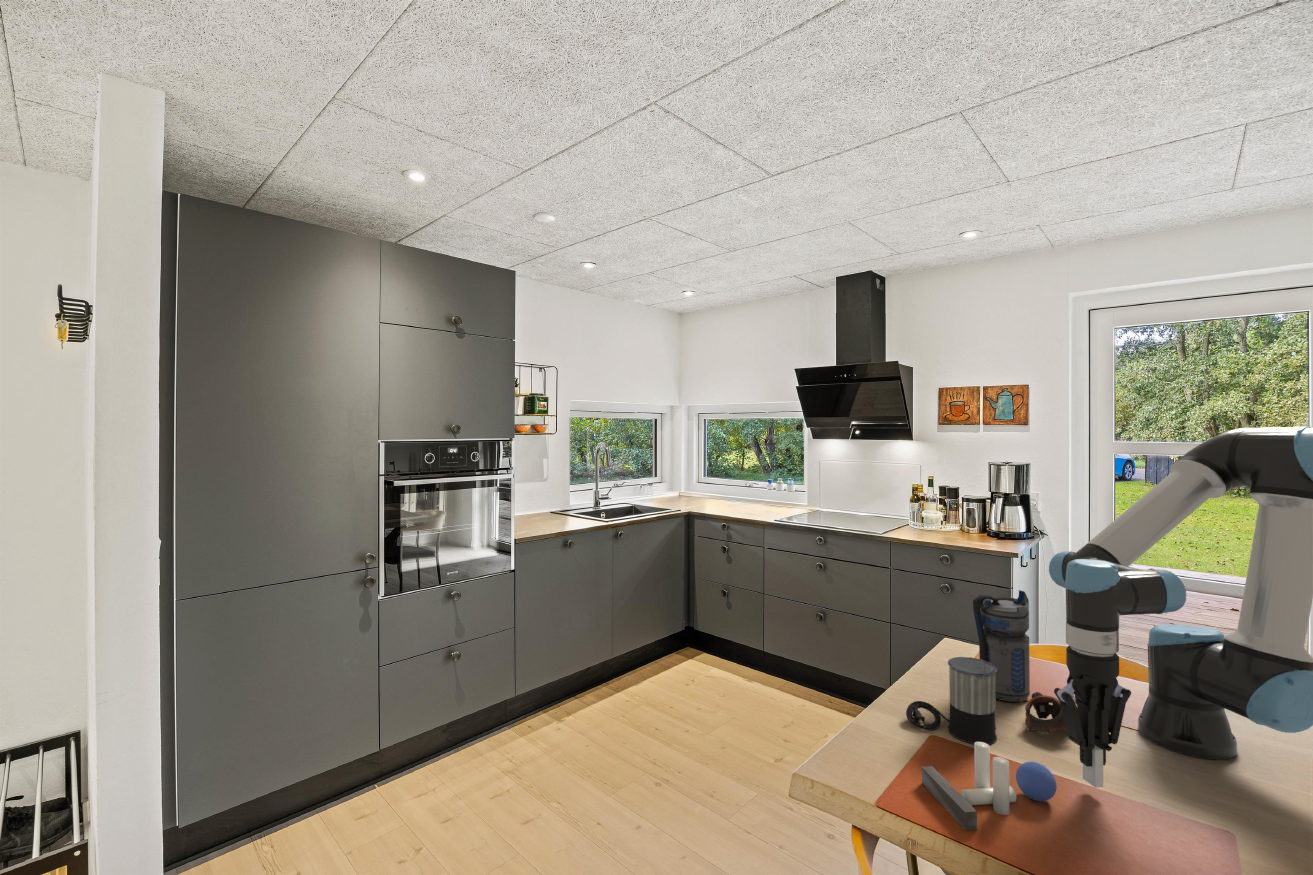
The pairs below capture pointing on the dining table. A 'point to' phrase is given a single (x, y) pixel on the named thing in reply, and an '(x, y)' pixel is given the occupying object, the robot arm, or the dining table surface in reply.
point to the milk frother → (965, 702)
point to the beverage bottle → (1005, 642)
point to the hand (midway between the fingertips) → (1092, 782)
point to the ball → (1036, 781)
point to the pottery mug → (1044, 714)
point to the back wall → (949, 798)
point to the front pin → (983, 796)
